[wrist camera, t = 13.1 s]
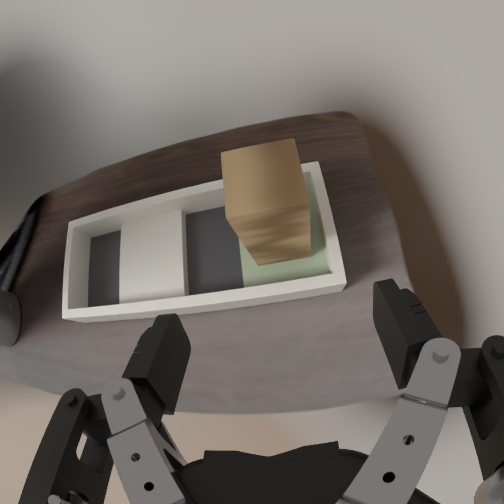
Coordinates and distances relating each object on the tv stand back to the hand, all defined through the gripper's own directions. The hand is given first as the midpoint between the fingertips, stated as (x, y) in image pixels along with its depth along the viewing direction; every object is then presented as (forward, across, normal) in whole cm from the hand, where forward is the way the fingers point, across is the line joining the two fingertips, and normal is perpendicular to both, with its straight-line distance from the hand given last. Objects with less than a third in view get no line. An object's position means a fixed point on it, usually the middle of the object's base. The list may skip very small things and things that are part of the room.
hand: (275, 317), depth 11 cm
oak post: (+17, 0, +4) cm, 17 cm away
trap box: (+18, +10, +5) cm, 21 cm away
